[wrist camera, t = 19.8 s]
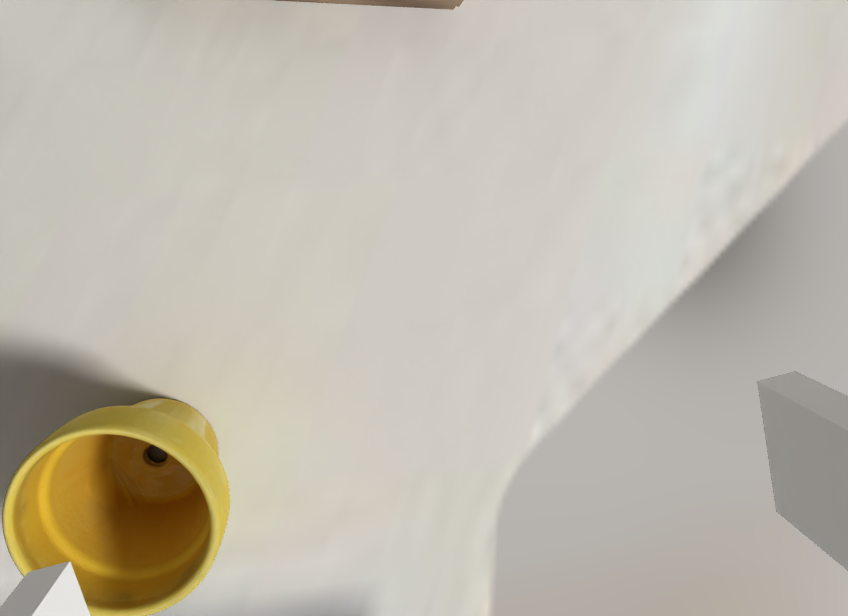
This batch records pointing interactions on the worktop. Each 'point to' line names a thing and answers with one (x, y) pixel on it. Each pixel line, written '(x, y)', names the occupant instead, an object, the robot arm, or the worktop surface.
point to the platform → (395, 3)
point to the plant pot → (122, 505)
